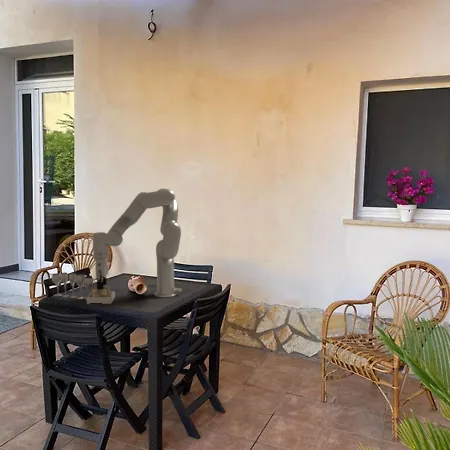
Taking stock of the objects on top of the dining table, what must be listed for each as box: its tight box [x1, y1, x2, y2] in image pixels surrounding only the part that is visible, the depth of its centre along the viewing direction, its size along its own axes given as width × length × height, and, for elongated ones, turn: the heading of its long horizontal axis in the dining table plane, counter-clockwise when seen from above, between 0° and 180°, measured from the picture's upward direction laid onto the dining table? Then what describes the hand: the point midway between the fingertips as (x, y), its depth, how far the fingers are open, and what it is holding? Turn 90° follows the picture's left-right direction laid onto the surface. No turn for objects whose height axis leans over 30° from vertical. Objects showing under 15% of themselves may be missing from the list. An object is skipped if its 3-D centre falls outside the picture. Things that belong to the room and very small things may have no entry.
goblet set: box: [51, 272, 94, 301], centre depth 250 cm, size 28×6×13 cm, turn 64°
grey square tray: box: [86, 291, 116, 305], centre depth 245 cm, size 13×13×3 cm
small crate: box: [90, 285, 111, 297], centre depth 245 cm, size 9×7×6 cm
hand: (101, 287), depth 245 cm, fingers open, 9 cm apart
